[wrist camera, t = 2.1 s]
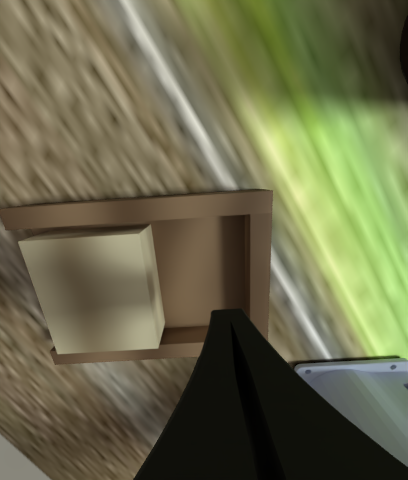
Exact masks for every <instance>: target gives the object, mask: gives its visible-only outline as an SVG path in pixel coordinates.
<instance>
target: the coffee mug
mask: <svg viewBox="0 0 408 480" xmlns="http://www.w3.org/2000/svg"><path fill="white" fill-rule="evenodd" d="M400 61H401V66H402V71H403V74H404V76H405V79H406V81H407V83H408V16H407V18H406V21H405V25H404V28H403V31H402V37H401V44H400Z"/></svg>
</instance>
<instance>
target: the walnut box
mask: <svg viewBox="0 0 408 480" xmlns="http://www.w3.org/2000/svg"><path fill="white" fill-rule="evenodd" d="M272 202H273V191H272V190H265V189H253V190H238V191H224V192H209V193H194V194H179V195H164V196H149V197H134V198H120V199H105V200H90V201H75V202H60V203H45V204H31V205H24V206H17V207H9V208H2V209H0V216H1V219H2V221H3V224H4V227H5V230H19V229H31V230H32V233H33V236H36V235H39V234H42V233H45V232H48V231H53V230H68V229H84V228H99V227H114V226H129V225H145V224H151V229H152V236H153V243H154V250H155V257H156V264H157V271H158V277H159V284H160V291H161V298H162V305H163V312H164V319H165V325H164V329H163V332H162V336H161V340H160V344H159V347H158V349H140V350H123V351H105V352H88V353H71V354H57V351H56V348H55V346H54V347H53V348H52V349H51V351H50V353H51V356H52V358H53V361H54V364H55V365H58V364H76V363H93V362H111V361H129V360H146V359H164V358H182V357H199V355H200V353H201V350H202V347H203V344H204V341H205V338H206V335H207V331H208V327H209V323H210V317H211V312H212V311H213V310H220V309H237V308H242V309H243V310H244V311H245V313H246V314H247V316H248V317H249V318H250V320H251V321H252V322H253V324H254V325H255V326H256V328H257V329H258V330H259V331H260V333H261V334H262V335H263V336H264V338H265V339H266V340H267V341H268V318H269V289H270V260H271V231H272Z"/></svg>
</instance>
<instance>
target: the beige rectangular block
mask: <svg viewBox="0 0 408 480" xmlns="http://www.w3.org/2000/svg"><path fill="white" fill-rule="evenodd" d="M18 243H19V246H20V249H21V252H22V255H23V258H24V260H25V263H26V266H27V269H28V272H29V275H30V277H31V280H32V283H33V286H34V289H35V292H36V294H37V297H38V300H39V303H40V306H41V309H42V311H43V314H44V317H45V320H46V323H47V326H48V328H49V331H50V334H51V337H52V340H53V343H54V345H55V348H56V351H57V354H71V353H88V352H105V351H123V350H140V349H158V347H159V344H160V340H161V336H162V332H163V329H164V325H165V319H164V312H163V305H162V298H161V291H160V284H159V277H158V271H157V264H156V257H155V250H154V243H153V236H152V229H151V224H145V225H129V226H114V227H99V228H84V229H68V230H53V231H48V232H45V233H42V234H39V235H36V236H33V237H30V238H27V239H24V240H21V241H18Z"/></svg>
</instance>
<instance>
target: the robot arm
mask: <svg viewBox="0 0 408 480" xmlns="http://www.w3.org/2000/svg"><path fill="white" fill-rule="evenodd" d="M133 480H408V360H407V359H405V358H396V359H378V360H360V361H342V362H324V363H306V364H298V365H296V366H295V368H294V369H293V368H292V367H291V366H290V365H289V364H288V363H287V362H286V361H285V360H284V359H283V358H282V357H281V356H280V355H279V354H278V352H277V351H276V350H275V349H274V348H273V347H272V346H271V345H270V343H269V342H268V341H267V340H266V339H265V338H264V336H263V335H262V334H261V333H260V331H259V330H258V329H257V328H256V326H255V325H254V324H253V322H252V321H251V320H250V318H249V317H248V316H247V314H246V313H245V311H244V310H243V309H242V308H237V309H220V310H213V311H212V312H211V317H210V323H209V327H208V331H207V335H206V338H205V341H204V344H203V347H202V350H201V353H200V355H199V358H198V360H197V363H196V365H195V368H194V370H193V373H192V375H191V377H190V380H189V382H188V384H187V386H186V388H185V390H184V392H183V394H182V396H181V398H180V400H179V402H178V404H177V406H176V408H175V410H174V412H173V413H172V415H171V417H170V419H169V421H168V423H167V425H166V426H165V428H164V430H163V432H162V433H161V435H160V437H159V439H158V440H157V442H156V444H155V445H154V447H153V449H152V450H151V452H150V454H149V455H148V457H147V458H146V460H145V462H144V463H143V465H142V466H141V468H140V470H139V471H138V473H137V474H136V476H135V478H134V479H133Z"/></svg>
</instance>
